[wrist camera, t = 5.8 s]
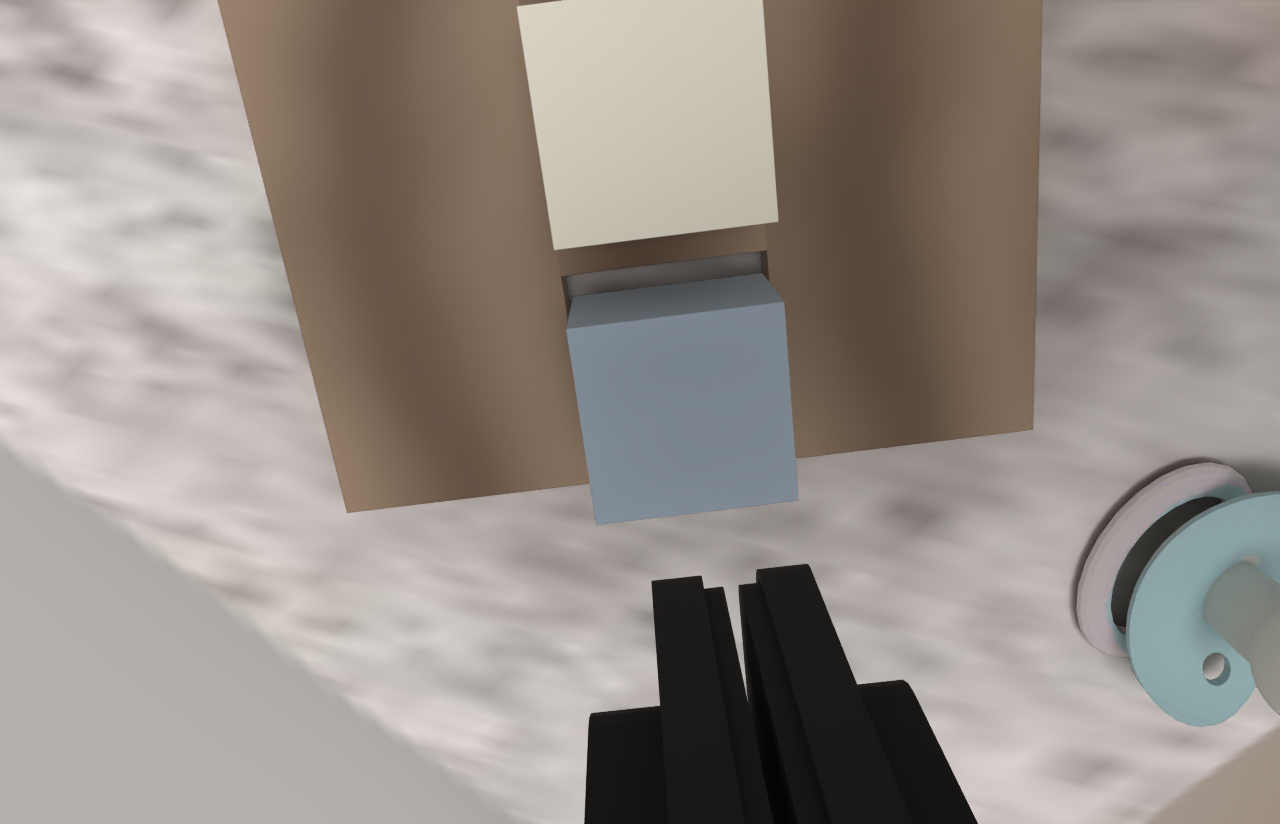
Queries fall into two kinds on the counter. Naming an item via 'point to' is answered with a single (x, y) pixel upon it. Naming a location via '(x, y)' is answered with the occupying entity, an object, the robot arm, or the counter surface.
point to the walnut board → (535, 273)
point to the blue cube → (684, 397)
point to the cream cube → (650, 116)
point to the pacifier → (1193, 595)
